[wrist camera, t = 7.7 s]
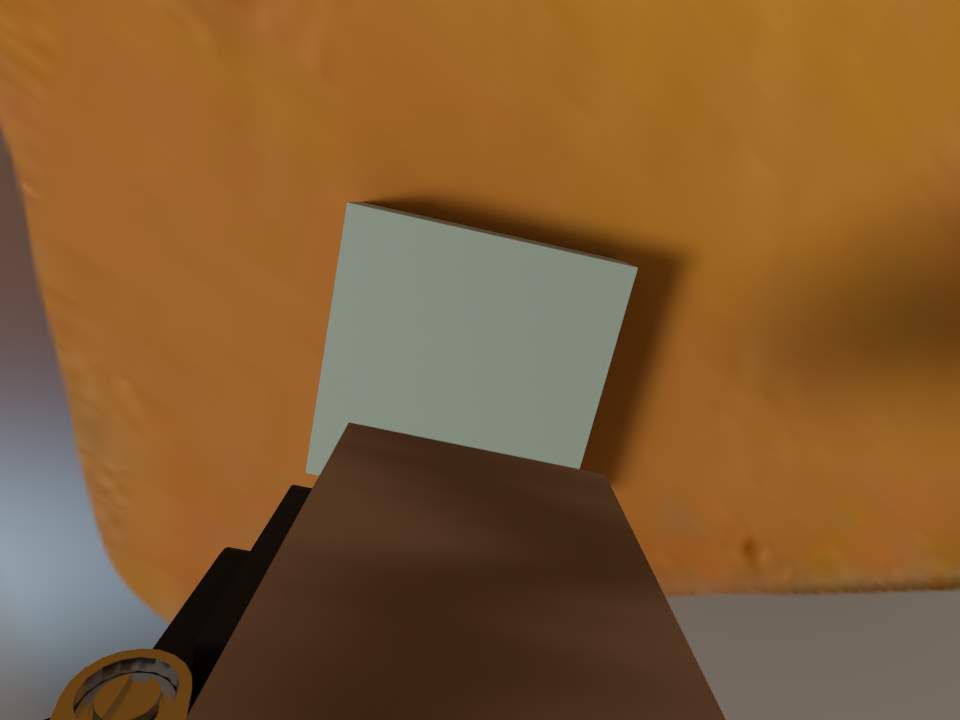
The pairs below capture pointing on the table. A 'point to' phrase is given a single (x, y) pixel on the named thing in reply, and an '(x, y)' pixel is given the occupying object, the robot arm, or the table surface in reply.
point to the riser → (466, 337)
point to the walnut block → (456, 599)
